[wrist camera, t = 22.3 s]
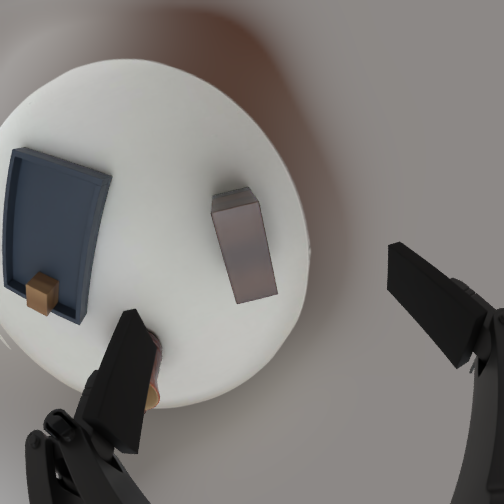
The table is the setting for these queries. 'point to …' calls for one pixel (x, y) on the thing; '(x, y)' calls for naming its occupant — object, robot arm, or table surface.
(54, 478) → the robot arm
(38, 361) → the table surface
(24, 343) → the table surface
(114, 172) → the table surface
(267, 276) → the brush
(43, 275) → the wooden cube
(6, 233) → the tray
